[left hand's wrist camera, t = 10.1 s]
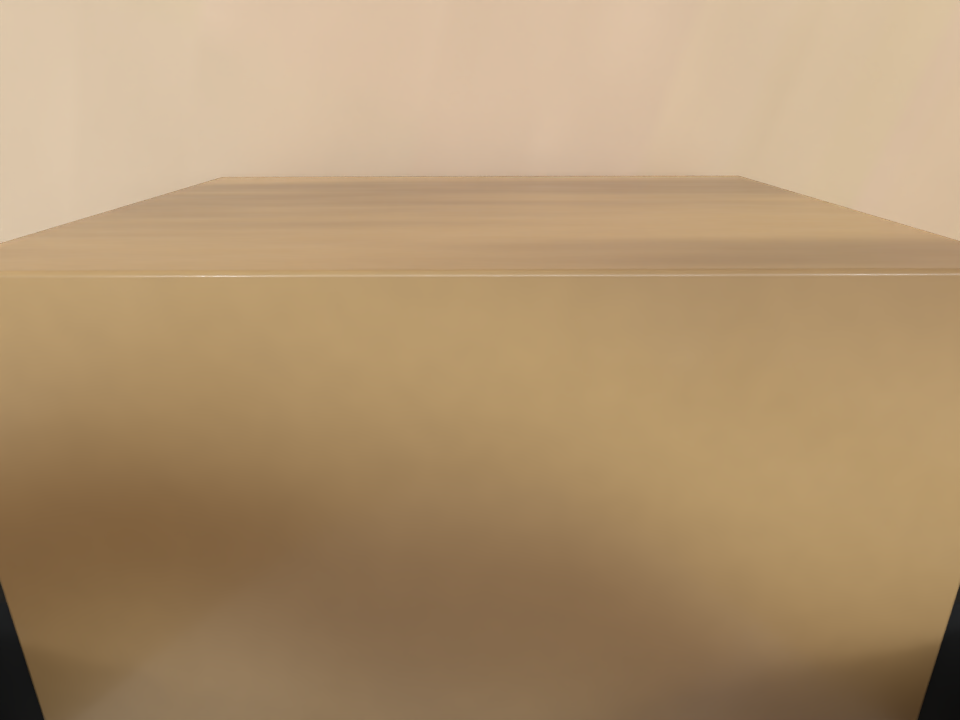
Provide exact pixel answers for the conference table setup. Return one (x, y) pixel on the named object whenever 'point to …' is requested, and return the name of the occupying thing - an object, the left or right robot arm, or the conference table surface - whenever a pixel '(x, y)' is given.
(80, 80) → the conference table surface
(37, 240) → the thick board
